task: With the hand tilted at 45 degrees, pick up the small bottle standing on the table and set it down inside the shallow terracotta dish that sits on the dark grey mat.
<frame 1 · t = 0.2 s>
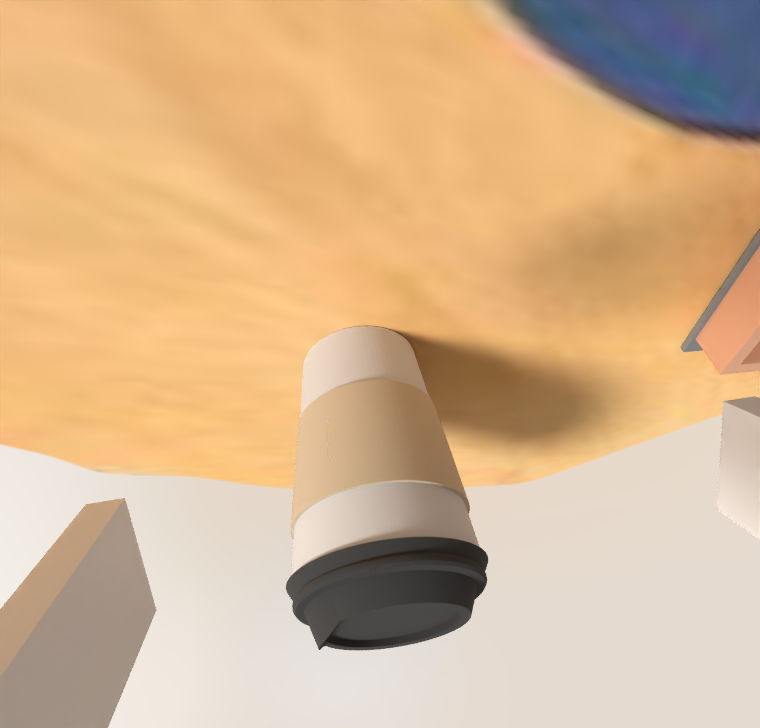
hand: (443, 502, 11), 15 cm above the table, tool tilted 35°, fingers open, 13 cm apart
coffee cup: (359, 364, 32), on the table
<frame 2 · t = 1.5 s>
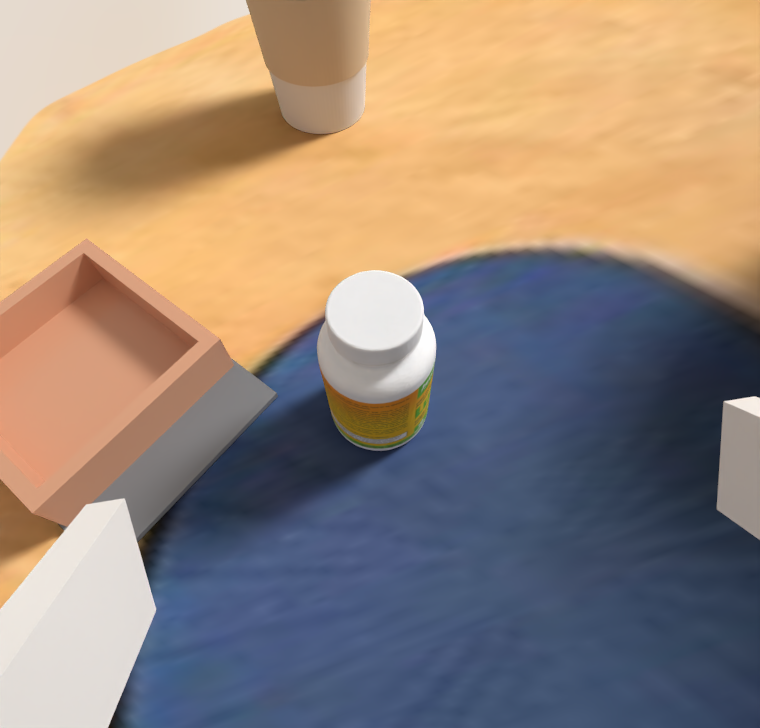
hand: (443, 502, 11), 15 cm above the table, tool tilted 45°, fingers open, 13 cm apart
supplement bottle: (379, 408, 30), on the table
dish: (90, 381, 30), resting on mat
mat: (105, 393, 30), on the table
coffee cup: (323, 108, 42), on the table
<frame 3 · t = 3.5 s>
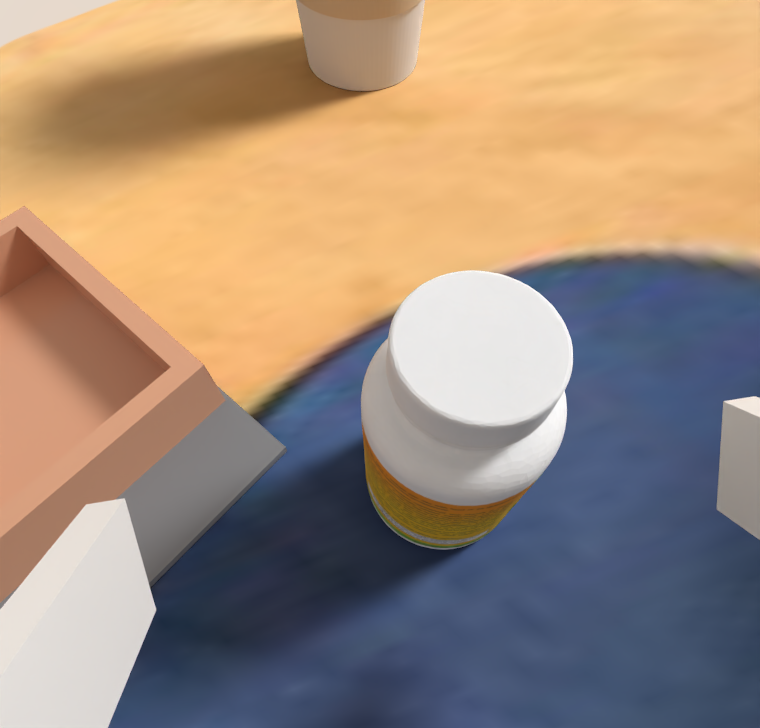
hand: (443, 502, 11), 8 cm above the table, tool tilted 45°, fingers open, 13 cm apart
supplement bottle: (437, 478, 20), on the table
dish: (14, 413, 20), resting on mat
mat: (33, 433, 21), on the table
coffee cup: (362, 60, 33), on the table
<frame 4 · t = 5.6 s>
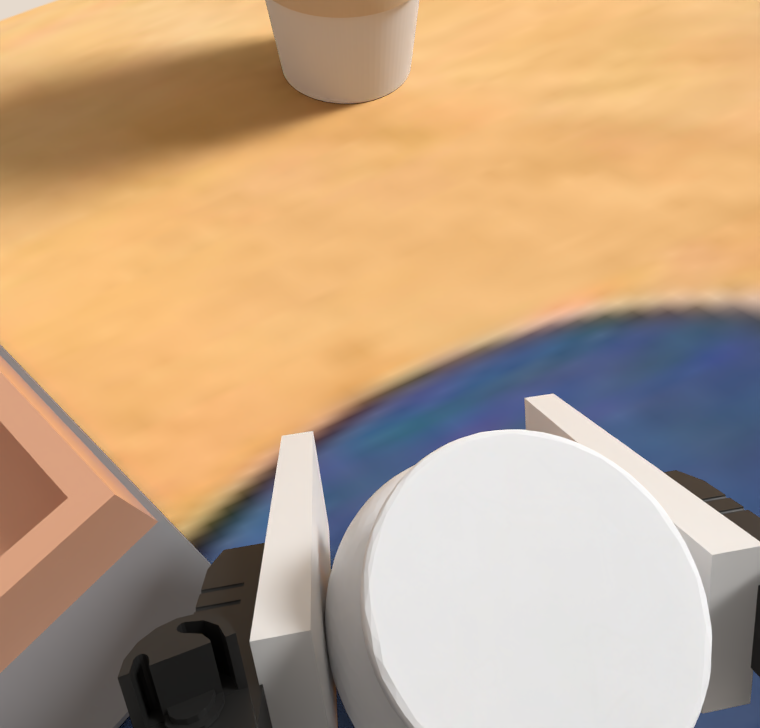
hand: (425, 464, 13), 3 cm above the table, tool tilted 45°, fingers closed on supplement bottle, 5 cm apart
supplement bottle: (444, 632, 15), on the table, touching gripper
coffee cup: (346, 66, 28), on the table
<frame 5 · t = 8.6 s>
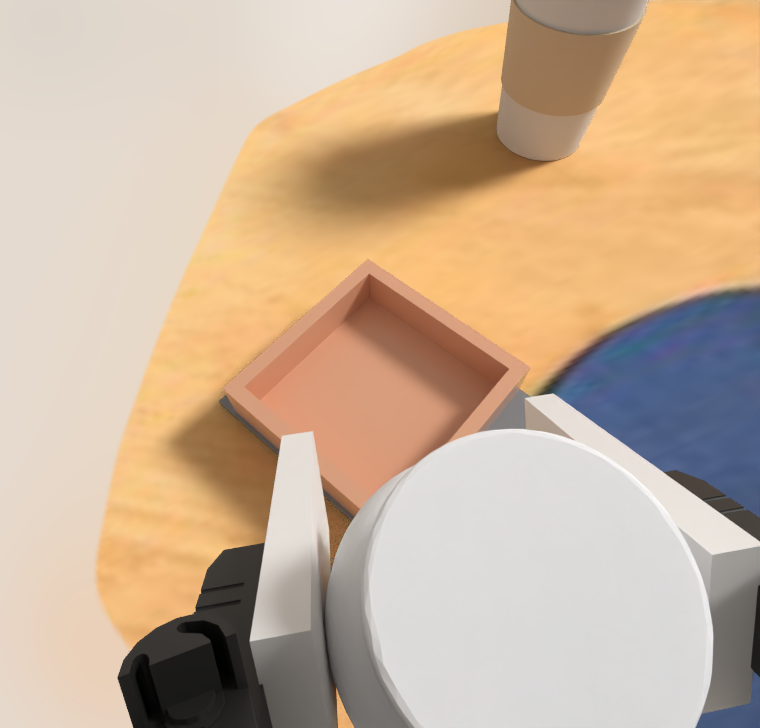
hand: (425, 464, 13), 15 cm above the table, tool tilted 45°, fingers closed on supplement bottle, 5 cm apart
supplement bottle: (444, 632, 15), point 12 cm above the table, touching gripper
dish: (378, 401, 30), resting on mat
mat: (391, 414, 30), on the table
coffee cup: (537, 134, 43), on the table
when the fingers open (6 cm above the table, at t = 11.6 s): supplement bottle drops 1 cm, resting on dish.
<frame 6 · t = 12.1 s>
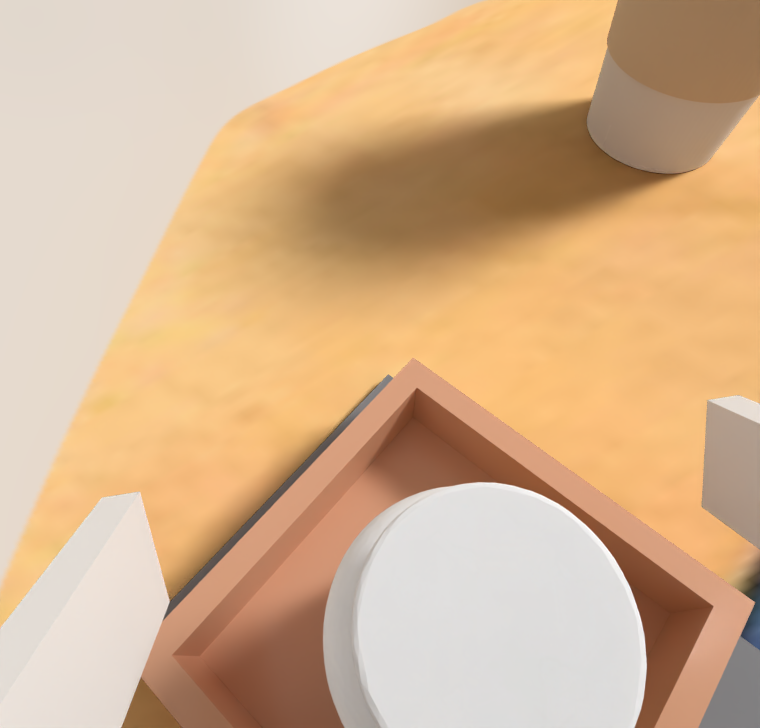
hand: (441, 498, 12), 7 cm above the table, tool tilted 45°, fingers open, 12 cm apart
supplement bottle: (435, 638, 16), point 1 cm above the table, touching dish
dish: (437, 635, 16), resting on mat
mat: (462, 659, 16), on the table
coffee cup: (648, 133, 29), on the table
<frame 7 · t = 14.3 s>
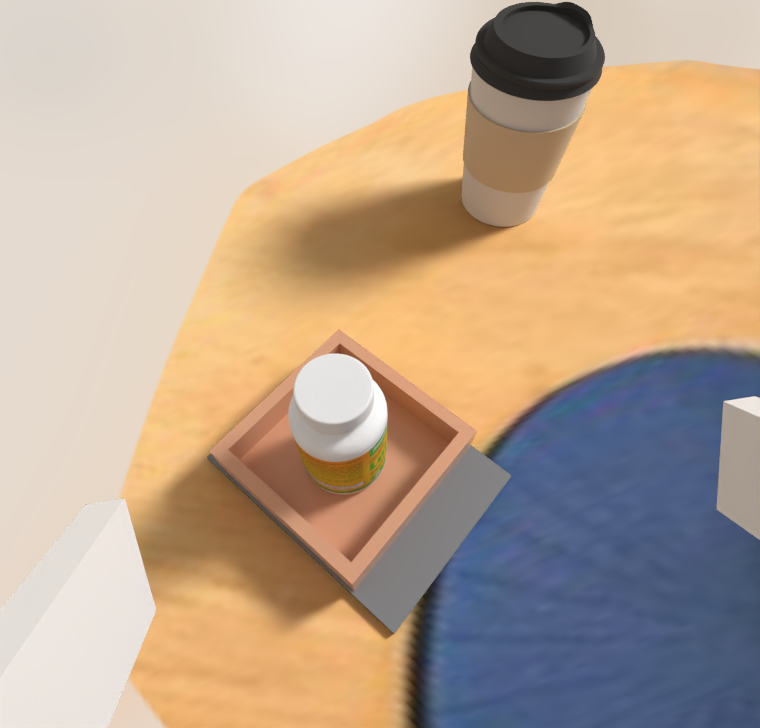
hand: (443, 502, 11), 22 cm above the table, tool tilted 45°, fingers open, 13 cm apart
supplement bottle: (345, 456, 34), point 1 cm above the table, touching dish
dish: (346, 457, 35), resting on mat
mat: (358, 468, 35), on the table
coffee cup: (498, 200, 47), on the table
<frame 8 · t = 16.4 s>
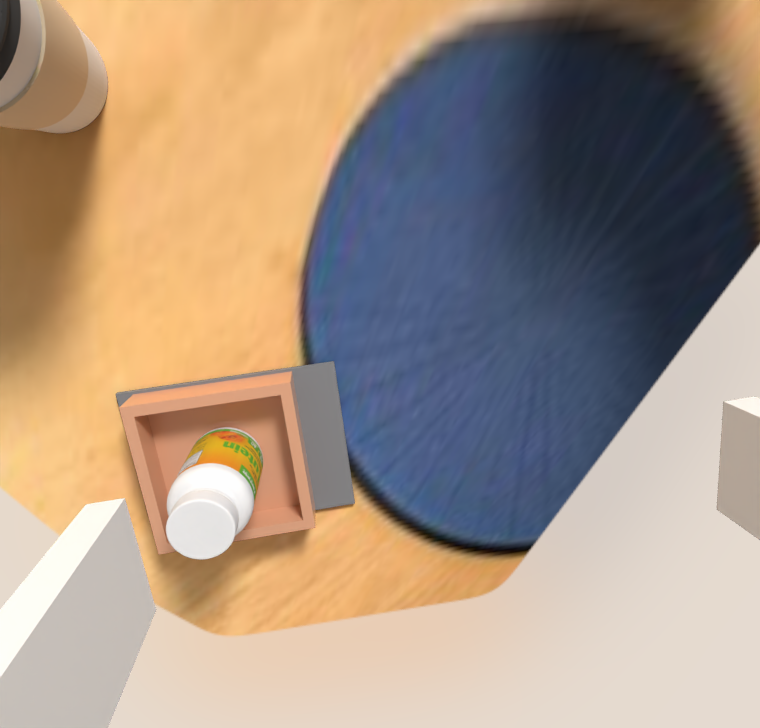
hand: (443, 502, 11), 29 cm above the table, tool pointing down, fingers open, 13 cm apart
supplement bottle: (228, 457, 40), point 1 cm above the table, touching dish
dish: (228, 453, 40), resting on mat
mat: (242, 449, 41), on the table
coffee cup: (51, 76, 33), on the table
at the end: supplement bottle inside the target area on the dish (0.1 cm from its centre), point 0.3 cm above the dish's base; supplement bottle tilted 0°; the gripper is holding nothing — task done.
